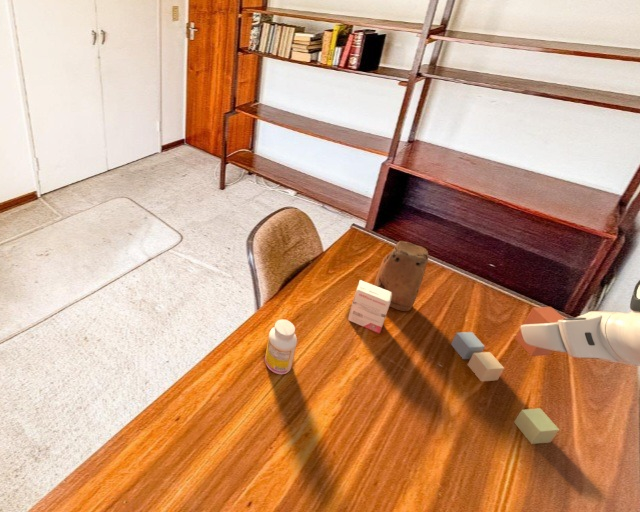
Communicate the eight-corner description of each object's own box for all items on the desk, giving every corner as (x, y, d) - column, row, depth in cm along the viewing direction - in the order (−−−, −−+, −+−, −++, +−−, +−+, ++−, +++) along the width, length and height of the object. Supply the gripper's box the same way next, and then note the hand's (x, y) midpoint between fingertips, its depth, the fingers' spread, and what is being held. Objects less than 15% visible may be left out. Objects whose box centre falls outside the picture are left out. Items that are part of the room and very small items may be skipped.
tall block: (531, 337, 92) (550, 306, 87) (549, 355, 88) (570, 323, 83) (514, 338, 91) (532, 307, 87) (531, 356, 87) (551, 324, 83)
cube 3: (466, 343, 106) (471, 331, 104) (478, 358, 102) (485, 346, 100) (450, 344, 106) (456, 332, 104) (462, 359, 102) (469, 347, 100)
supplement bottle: (276, 347, 103) (284, 311, 98) (296, 366, 98) (305, 330, 93) (258, 360, 99) (265, 323, 94) (278, 380, 95) (286, 343, 89)
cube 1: (531, 420, 88) (540, 408, 86) (550, 442, 84) (559, 429, 82) (513, 422, 88) (521, 409, 86) (531, 444, 84) (540, 431, 82)
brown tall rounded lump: (410, 299, 120) (430, 247, 111) (410, 316, 114) (431, 262, 105) (372, 286, 125) (388, 234, 116) (370, 301, 118) (387, 249, 110)
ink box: (382, 322, 112) (393, 291, 106) (379, 335, 108) (391, 303, 103) (350, 309, 116) (359, 278, 111) (347, 320, 112) (356, 289, 107)
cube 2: (483, 363, 101) (489, 351, 99) (497, 380, 97) (504, 368, 95) (467, 364, 101) (473, 352, 99) (480, 381, 96) (487, 369, 95)
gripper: (651, 316, 76) (578, 312, 89) (557, 320, 74) (495, 316, 87) (666, 352, 74) (588, 343, 87) (569, 358, 72) (504, 348, 85)
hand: (541, 329), depth 87 cm, fingers closed on tall block, 4 cm apart
